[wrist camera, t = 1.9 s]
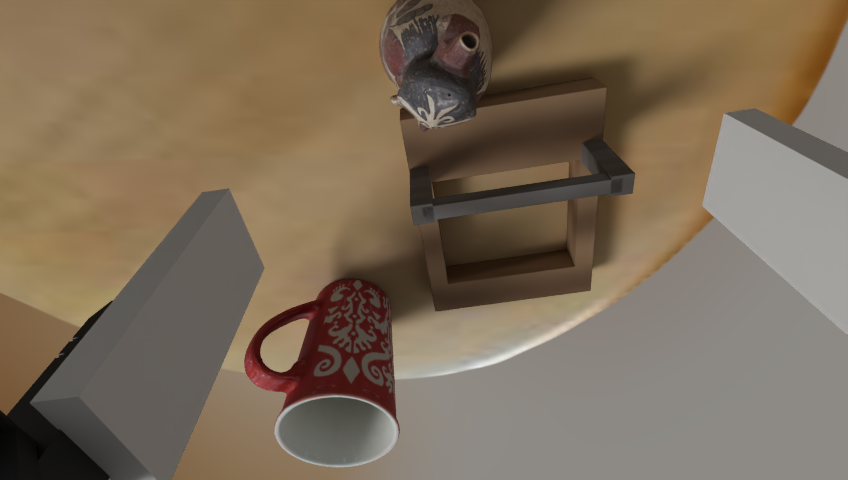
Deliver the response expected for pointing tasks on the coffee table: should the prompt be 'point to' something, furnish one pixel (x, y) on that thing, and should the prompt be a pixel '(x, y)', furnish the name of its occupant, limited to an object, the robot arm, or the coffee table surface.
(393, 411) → the mug
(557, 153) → the wooden stand
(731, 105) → the coffee table surface
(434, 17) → the figurine
